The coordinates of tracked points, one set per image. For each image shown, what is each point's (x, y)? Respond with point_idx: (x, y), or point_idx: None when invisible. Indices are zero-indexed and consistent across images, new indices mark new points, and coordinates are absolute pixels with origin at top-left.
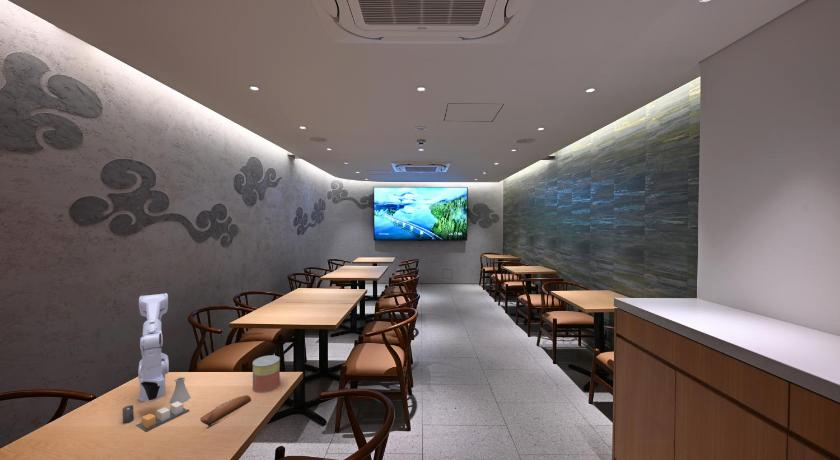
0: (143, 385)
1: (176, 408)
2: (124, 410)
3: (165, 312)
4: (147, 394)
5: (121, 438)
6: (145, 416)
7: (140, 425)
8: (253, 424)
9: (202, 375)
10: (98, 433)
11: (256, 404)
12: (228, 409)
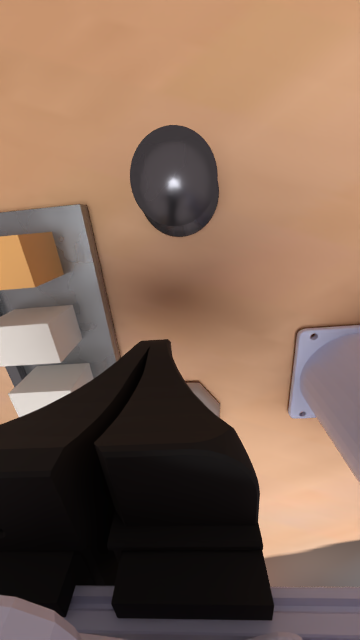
0: (107, 438)
1: (14, 390)
2: (148, 139)
3: None
4: (149, 360)
5: (14, 107)
6: (8, 253)
7: (52, 224)
8: None
9: (339, 526)
10: (214, 4)
11: None
12: None
